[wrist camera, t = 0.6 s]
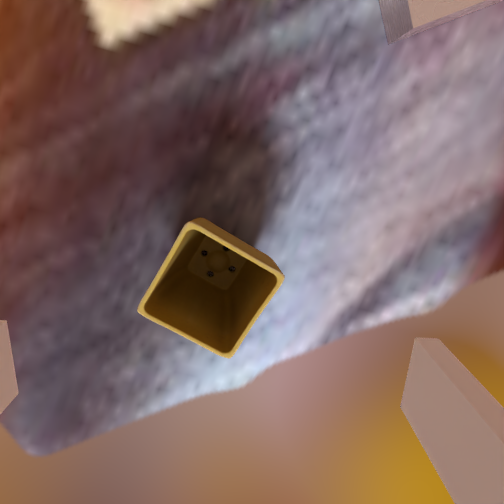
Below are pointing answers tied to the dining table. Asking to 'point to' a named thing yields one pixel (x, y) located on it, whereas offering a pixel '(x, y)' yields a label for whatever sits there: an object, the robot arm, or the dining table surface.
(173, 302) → the flower pot
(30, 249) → the dining table surface
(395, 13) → the block
